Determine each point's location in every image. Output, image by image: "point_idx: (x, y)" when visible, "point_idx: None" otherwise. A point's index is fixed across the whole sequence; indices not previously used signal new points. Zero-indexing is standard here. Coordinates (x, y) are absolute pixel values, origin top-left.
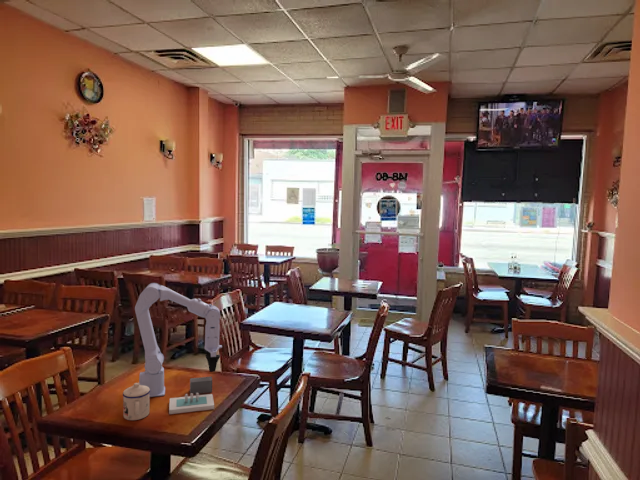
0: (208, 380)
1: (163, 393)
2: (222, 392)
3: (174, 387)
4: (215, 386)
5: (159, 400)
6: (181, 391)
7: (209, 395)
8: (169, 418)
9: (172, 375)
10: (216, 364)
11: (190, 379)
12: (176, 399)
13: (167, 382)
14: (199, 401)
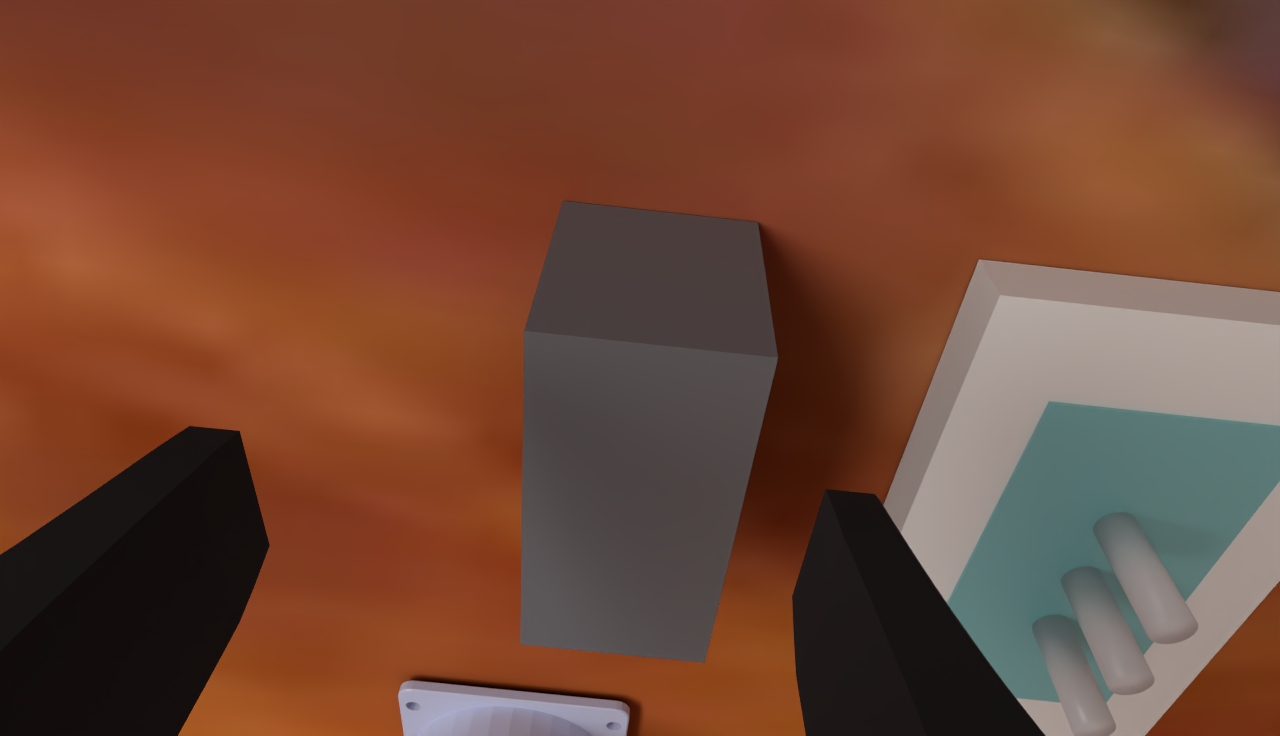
0: (742, 424)
1: (599, 716)
2: (855, 30)
3: (410, 608)
4: (502, 112)
5: (724, 732)
6: None
7: (1035, 349)
8: (1205, 714)
9: None
10: (1028, 715)
11: (570, 645)
12: None
13: (242, 643)
14: (1161, 507)
